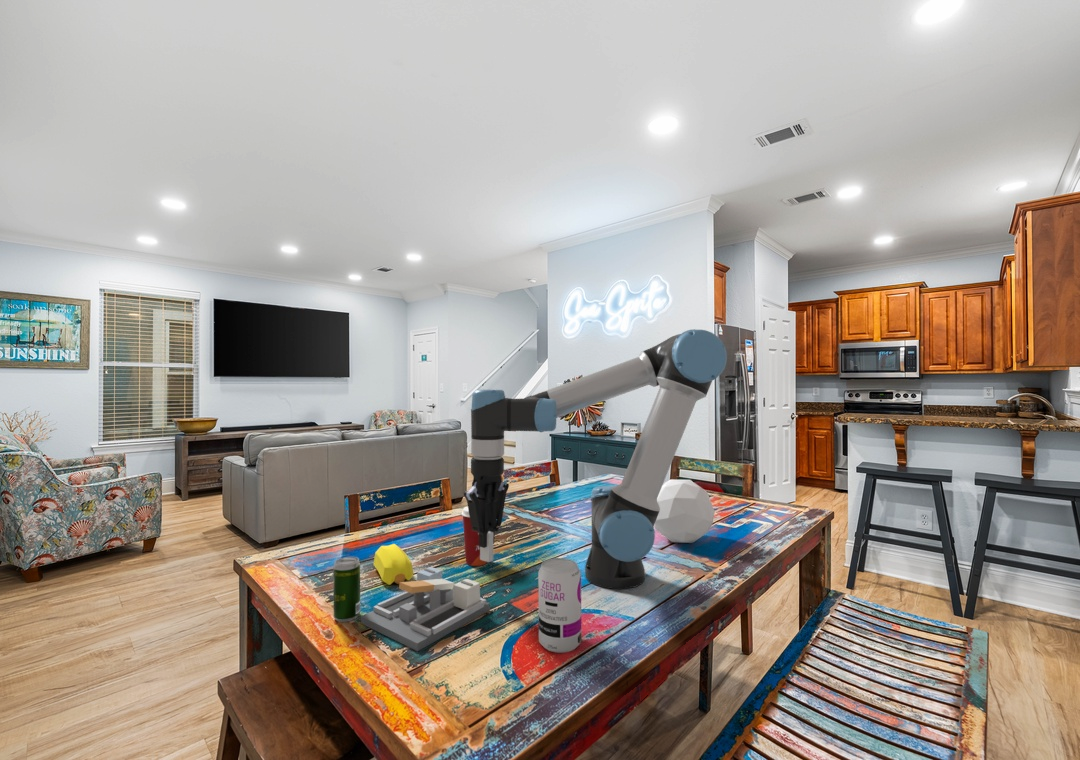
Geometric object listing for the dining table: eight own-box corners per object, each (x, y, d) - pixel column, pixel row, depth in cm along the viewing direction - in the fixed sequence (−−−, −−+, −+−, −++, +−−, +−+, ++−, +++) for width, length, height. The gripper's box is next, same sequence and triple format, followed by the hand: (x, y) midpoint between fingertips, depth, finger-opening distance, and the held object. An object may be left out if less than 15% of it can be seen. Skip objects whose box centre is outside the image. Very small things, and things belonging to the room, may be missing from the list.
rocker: (452, 591, 108) (454, 582, 108) (410, 597, 98) (412, 587, 99) (440, 587, 110) (442, 578, 110) (398, 592, 101) (399, 582, 101)
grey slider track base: (490, 610, 107) (489, 582, 107) (417, 651, 91) (417, 619, 91) (434, 589, 118) (433, 564, 118) (360, 623, 102) (360, 594, 102)
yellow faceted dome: (385, 591, 117) (416, 584, 121) (384, 563, 117) (416, 557, 121) (371, 566, 133) (399, 561, 137) (371, 542, 133) (399, 537, 137)
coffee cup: (486, 568, 130) (486, 512, 130) (457, 566, 132) (457, 511, 132) (495, 557, 139) (495, 504, 139) (468, 555, 140) (467, 503, 140)
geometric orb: (699, 563, 151) (739, 519, 144) (648, 548, 144) (687, 501, 137) (675, 518, 167) (711, 476, 160) (629, 503, 160) (663, 458, 153)
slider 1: (442, 589, 113) (442, 569, 113) (428, 596, 110) (428, 575, 110) (430, 585, 116) (430, 565, 115) (417, 591, 112) (417, 571, 112)
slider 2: (480, 603, 106) (479, 581, 106) (466, 610, 103) (466, 588, 103) (466, 598, 108) (466, 577, 108) (453, 605, 105) (453, 583, 105)
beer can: (363, 610, 107) (362, 555, 107) (356, 622, 102) (356, 565, 102) (338, 611, 107) (337, 556, 107) (330, 623, 102) (329, 566, 102)
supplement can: (578, 631, 98) (578, 556, 98) (583, 654, 90) (583, 573, 90) (538, 632, 98) (537, 557, 98) (539, 655, 89) (539, 573, 89)
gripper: (494, 452, 119) (493, 548, 119) (455, 458, 108) (454, 564, 108) (518, 455, 114) (517, 555, 114) (479, 462, 104) (478, 572, 104)
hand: (486, 559), depth 111 cm, fingers closed
